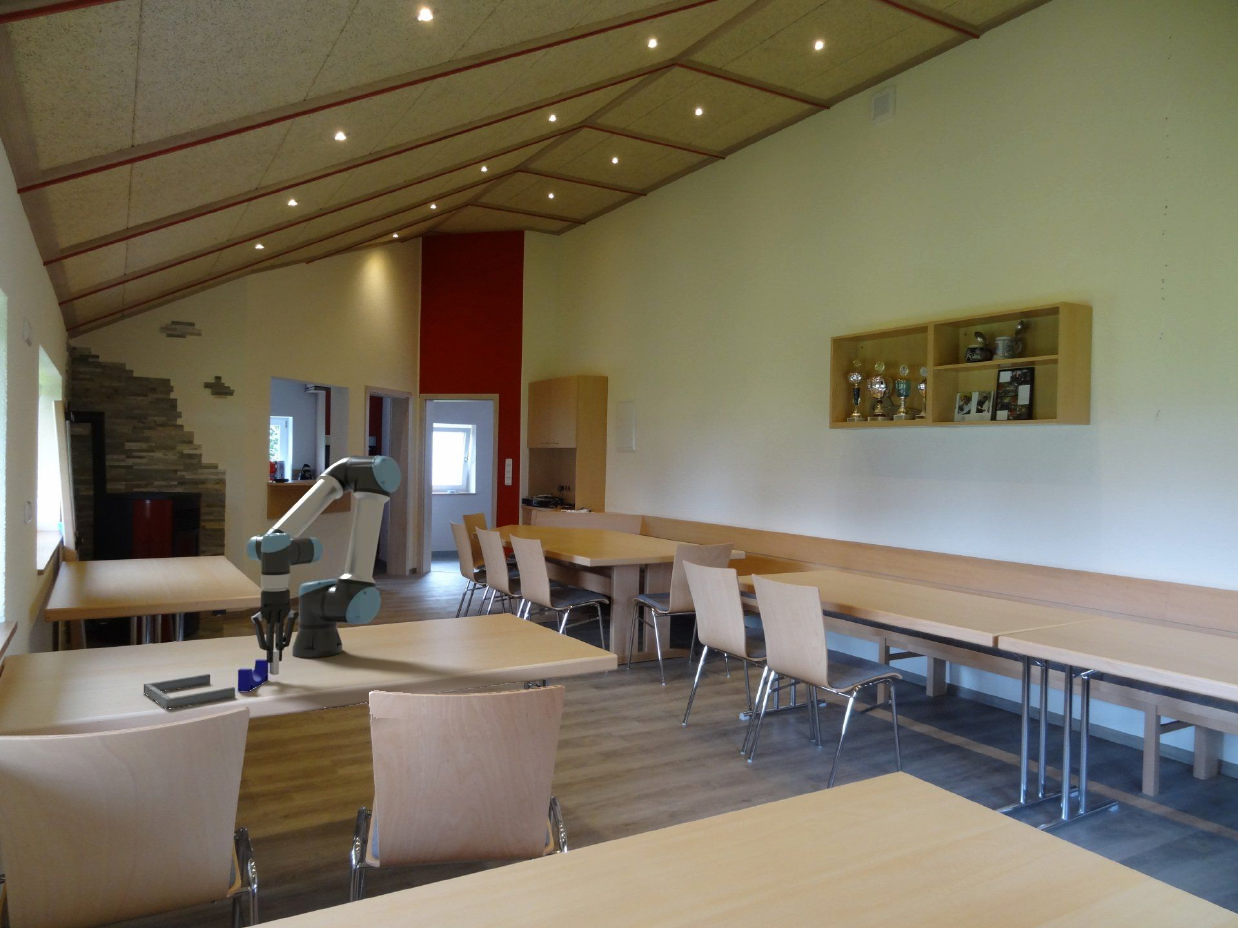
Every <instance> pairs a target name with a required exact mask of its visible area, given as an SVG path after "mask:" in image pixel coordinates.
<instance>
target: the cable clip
mask: <svg viewBox="0 0 1238 928" xmlns="http://www.w3.org/2000/svg"><path fill="white" fill-rule="evenodd" d="M266 659H267V658H266ZM266 659H265V658H263V659H262V658H258V659H255V662H254V667H253V668H239V669H237V692H238V691H250V690H252V689H253V688H255V687H257V688H258V687H260V686H262V685H263V684H265V683H266V682H268V681H269V663H268V662H267V661H266ZM267 680H268V681H267ZM265 681H266V682H265ZM264 682H265V683H264ZM262 683H263V684H262ZM259 685H260V686H259ZM255 689H256V688H255ZM253 690H254V689H253ZM253 690H252V691H253ZM250 692H251V691H250Z"/></svg>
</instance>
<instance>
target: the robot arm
mask: <svg viewBox="0 0 1238 928" xmlns="http://www.w3.org/2000/svg"><path fill="white" fill-rule="evenodd" d="M401 481H402V473H401V469H400V467H399V465H398V463H397V462H396V460H395V459H393V458H392V457H390V456H384V455H349V456H346V457H344V458H341V459H340V460H339V459H338V460H337V461H336V462H334V463H333V464H332V465H330V466H328V467H327V468H326V469H325V470H324V471H322V473H321V474H319V475H318V476H317V478H316V483H315V484H314V485H313V486H312V487H311V488H310V489H309V490H307V492H306V493H305V494H304V495H303V496H302V497H301V498H300V499H299V500H298V501H297V502H296V503H295V504H294V505H293V506H292V507H291V508H289V510H288V511H287V512H286V513H285V514H284V515H283V516H282V517H280V519H278V521H277V522H276V523H275V524H274V525H273V526H272V527H271V528H270V529H268V531H266V533H264V535H260V534H259V535H255V536H252V537H251V538H249V539H248V542H247V544H246V547H245V548H246V549H245V550H246V554H247V556H248V557H249V558H250V560H252V561H257V562H260V563H261V565H260V566H261V567H260V570H261V571H260V572H261V573H260V578H261V579H260V588H261V591H260V608H259V609H258V613H256V614H254V615H251V616H250V618H249V619H250V621H251V622H252V623H253V626H254V630H255V634H256V637H257V643H258V647H259V649H261V650H263V651H266V661H267V662H268V664H269V671H268V674H270V675H272V676H278V675H279V674H280V671H279V670H280V662H282V661H283V651H284V649H285V648H288V647H289V646H290V643H291V641H292V637H293V631H294V628H295V624H296V620H297V618H298V629H297V634H296V635H295V639H294V641H293V645H292V648H291V649H292V650H291V653H292V654H291V655H292V656H294V657H299V658H307V659H308V658H309V659H310V658H314V659H315V658H323V657H324V658H326V657H331V656H336V655H339V654H342V652H343V642H342V639H341V636H340V632H339V629H338V623H341V624H349V625H365V624H367V623H370V622H371V621H372V620H373V619H374V618H375V617H377V616H376V615H377V614H378V613H379V610H380V608H381V604H382V596H381V593H380V591H379V590H378V589H377V588H376V585H377V581H376V580H375V579H374V578H373V573H374V568H375V567H374V566H375V561H376V556H377V549H378V544H379V538H380V532H381V526H382V519H383V513H384V507H385V504H386V502H388V501H390V499H391V495H392V493H394V492H395V491H397V490H398V489H399V487H400V485H401ZM348 492H352V494H353V496H354V498H356V504H355V510H354V513H353V514H354V515H353V521H352V527H351V530H350V531H351V533H350V537H349V538H350V539H349V542H348V543H349V544H348V549H347V555H346V561H345V566H344V571H343V574H342V575H340V576H339V577H337V579H335V578H334V579H333V578H332V579H330V578H329V579H322V580H316V581H315V580H314V581H308V582H304V583H302V584H300V586H299V590H298V595H297V596H298V611H295V610H293V609H292V606H291V604H290V602H291V590H290V589H289V588H290V587H291V566H297V565H306V564H308V565H310V564H313V563H316V562H318V561H320V560H321V558H322V556H323V554H324V545H323V543H322V542H321V541H320V539H318V538H317V537H314V536H313V537H308V536H306V537H299V536H300V535H301V534H302V533H303V532H304V531H305V530H306V529H307V528H308V527H309V526H310V525H311V524H312V523H313V522H314V521H315V520H316V519H317V518H318V517H319V516H320V514H321V513H322V512H324V511H325V509H326V508H327V507H328V506H329V505H330V504H331V503H332V502H334V500H337V499H340V498H341V497H342V496H343V495H344V494H346V493H348ZM287 617H288V618H287ZM286 618H287V620H286ZM262 620H264V621H265V626H266V629H265V632H266V633H265V632H264V627H263V624H262ZM285 620H286V625H285ZM284 626H285V629H284Z"/></svg>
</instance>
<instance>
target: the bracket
mask: <svg viewBox="0 0 1238 928" xmlns="http://www.w3.org/2000/svg"><path fill="white" fill-rule="evenodd" d="M210 684H211V674H209V673H206V674H201V675H194V676H193V675H192V676H187V677H181V678H174V679H169V680H162V681H156V682H149V683H143V694H144V693H145V694H147V695H148V696H149V697H150V698H152V699H154V700H155V701H157V702H158V703H159V704H160V705H162V706H163V707H164V709H165V708H166V709H169V708H175V709H178V708H177V707H181V708H184V707H183V706H186V707H189V706H188V705H192V706H196V704H197V705H202V703H203V704H207V703H212V702H213V701H214V702H219V701H223V699H225V700H229V698H230V699H235V698H236V687H234V686H232V687H231V686H230V687H225V688H221V689H214V690H208V691H202V692H196V693H191V694H185V695H180V696H174V697H170V696H169V695H167V693H164V692H161V691H165V690H171V691H174V690H173V689H176V690H179V689H178V688H182V689H187V687H188V688H193V687H199V686H206V685H210ZM165 692H166V691H165ZM145 694H144V695H145ZM149 697H148V698H149ZM150 698H149V699H150ZM152 699H151V700H152ZM155 701H154V702H155ZM214 702H213V703H214ZM158 703H157V704H158ZM159 704H158V705H159ZM160 705H159V706H160ZM162 706H161V707H162ZM163 707H162V708H163ZM166 709H165V710H166Z"/></svg>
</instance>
